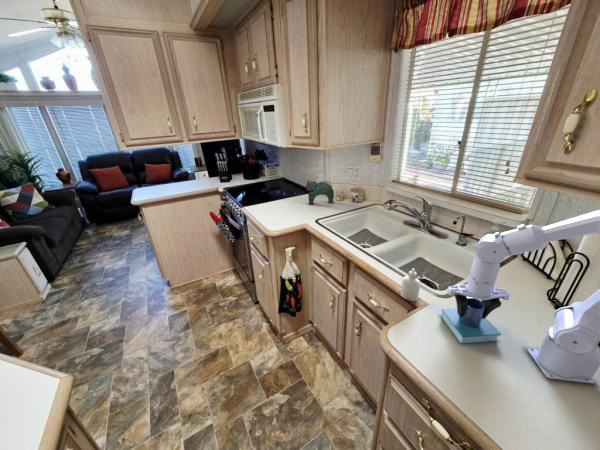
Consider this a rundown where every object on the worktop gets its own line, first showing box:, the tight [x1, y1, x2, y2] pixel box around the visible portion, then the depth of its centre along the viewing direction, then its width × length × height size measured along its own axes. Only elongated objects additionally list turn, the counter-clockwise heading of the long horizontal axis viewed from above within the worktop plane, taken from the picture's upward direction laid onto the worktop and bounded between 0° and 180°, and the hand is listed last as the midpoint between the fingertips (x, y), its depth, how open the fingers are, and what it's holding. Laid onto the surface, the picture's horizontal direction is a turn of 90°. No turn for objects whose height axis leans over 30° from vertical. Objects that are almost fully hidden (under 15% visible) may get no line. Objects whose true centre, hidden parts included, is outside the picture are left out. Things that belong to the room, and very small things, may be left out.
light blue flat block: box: [441, 307, 502, 344], centre depth 74 cm, size 11×11×3 cm
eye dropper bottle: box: [400, 268, 421, 302], centre depth 85 cm, size 4×6×12 cm
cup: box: [459, 296, 485, 327], centre depth 72 cm, size 5×5×6 cm
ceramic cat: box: [305, 176, 335, 206], centre depth 178 cm, size 20×6×20 cm, turn 90°
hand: (470, 315), depth 72 cm, fingers closed on cup, 5 cm apart
